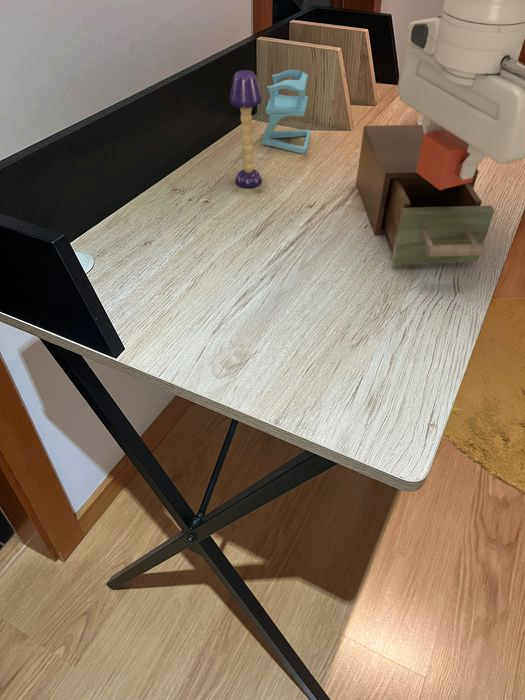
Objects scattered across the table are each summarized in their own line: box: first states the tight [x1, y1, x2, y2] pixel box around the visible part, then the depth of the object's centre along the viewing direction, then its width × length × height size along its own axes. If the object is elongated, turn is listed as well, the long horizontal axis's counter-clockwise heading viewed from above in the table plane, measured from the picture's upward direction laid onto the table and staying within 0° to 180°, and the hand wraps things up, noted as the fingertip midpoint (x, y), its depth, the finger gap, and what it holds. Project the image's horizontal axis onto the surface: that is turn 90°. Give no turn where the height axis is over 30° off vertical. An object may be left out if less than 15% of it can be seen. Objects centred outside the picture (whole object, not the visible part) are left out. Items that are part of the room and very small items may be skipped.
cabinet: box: [355, 124, 479, 236], centre depth 84 cm, size 15×13×10 cm
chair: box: [261, 69, 311, 155], centre depth 98 cm, size 8×8×12 cm
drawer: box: [382, 178, 496, 265], centre depth 76 cm, size 18×11×8 cm, turn 4°
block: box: [416, 129, 475, 190], centre depth 70 cm, size 5×5×5 cm
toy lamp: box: [229, 69, 263, 189], centre depth 86 cm, size 5×5×17 cm
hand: (446, 164), depth 71 cm, fingers closed on block, 5 cm apart
